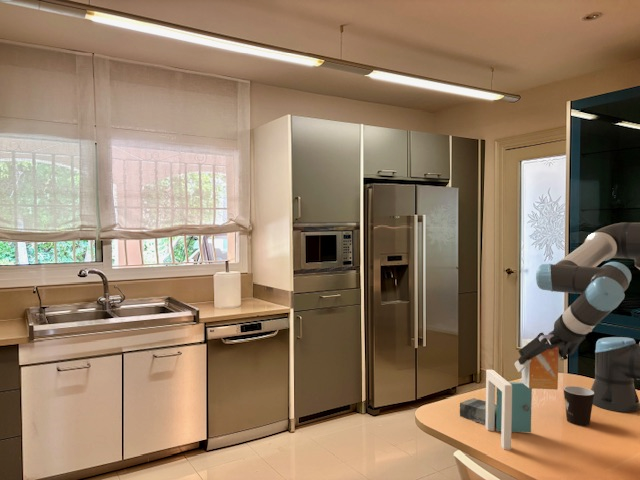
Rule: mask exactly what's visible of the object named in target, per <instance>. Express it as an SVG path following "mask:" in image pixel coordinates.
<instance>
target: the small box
mask: <svg viewBox="0 0 640 480" xmlns="http://www.w3.org/2000/svg"><path fill="white" fill-rule="evenodd" d="M533 339H534V338H522V342H521V343H522V344H521V349H522V348H523V347H524V346H526V345H527V344H528V343H530V342H531V341H532V340H533ZM548 342H549V340H548ZM549 344H550V345H551V343H550V342H549ZM558 357H559V345H558V346H556V347H555V348H553V349H547V350H546V351H544V352H542V353H540V354H539V355H537V356H535V357H533V358H532V359H531V360H532V361H531V362H530V363H529V364H528V365H527V366H526V367H525V368H524V369H523V370H522V371H521V383H523V384H524V385H526V386H527V387H528V388H529V389H532V390H533V389H534V390H537V389H538V390H540V389H541V390H556V391H557V390H558V389H559V385H558V383H559V382H558V381H559V361H558Z"/></svg>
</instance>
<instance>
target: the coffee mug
mask: <svg viewBox="0 0 640 480" xmlns="http://www.w3.org/2000/svg"><path fill="white" fill-rule="evenodd" d="M563 395H564V397H563V398H564V405H565V414H566V417H565V418H566V421H567V423H569V424H571V425H574V426H579V427H580V426H582V427H586V426H589V425H590V423H591V417H592V412H593V411H592V410H593V406H594V404H593V398H594V392H593V391H592V390H591V388H587V387H583V386H575V385H569V386H566V385H565V386H564V387H563Z"/></svg>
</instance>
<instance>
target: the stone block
mask: <svg viewBox="0 0 640 480" xmlns="http://www.w3.org/2000/svg"><path fill="white" fill-rule="evenodd" d="M496 405H497V403H495V420H494V430H496ZM459 416H460V417H461V418H464V419H467V420H469V421H472V422H477V423H479V424H482V425H484V426H485V424H486V400H482V399H478V398H470V399H467V400H464V401H461V402H460V403H459Z"/></svg>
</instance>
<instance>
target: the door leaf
mask: <svg viewBox="0 0 640 480" xmlns="http://www.w3.org/2000/svg"><path fill="white" fill-rule="evenodd" d="M508 382H509V383H510V384H511V385H512V423H511V433H532V402H533V401H532V399H533V395H532V394H533V392H532V390H533V389H529V388H528V387H527V386H526V385H524V384H523V383H522V382H511V381H508ZM501 421H502V391H501V390H499V389H498V388H497V387H496V429H495V431H497V432H501Z"/></svg>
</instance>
